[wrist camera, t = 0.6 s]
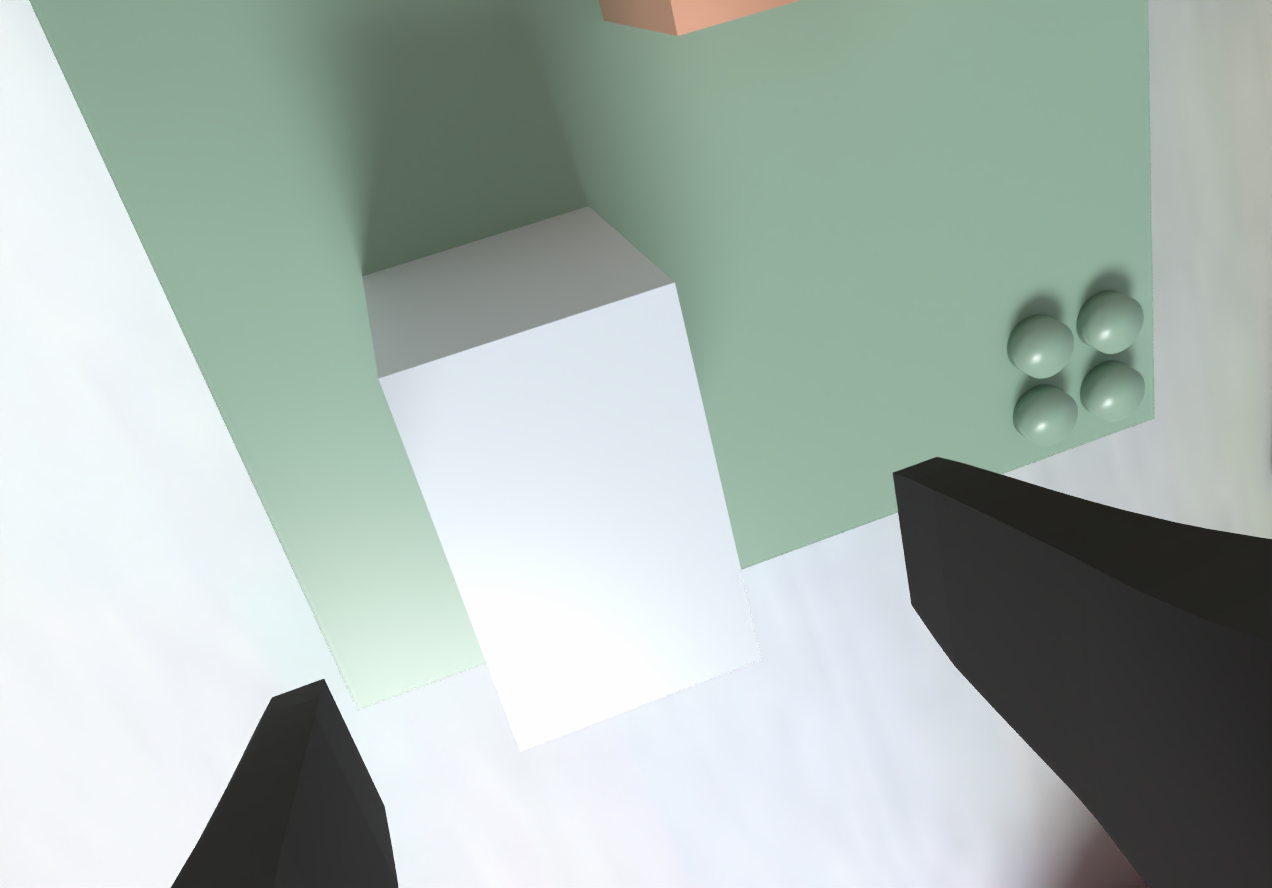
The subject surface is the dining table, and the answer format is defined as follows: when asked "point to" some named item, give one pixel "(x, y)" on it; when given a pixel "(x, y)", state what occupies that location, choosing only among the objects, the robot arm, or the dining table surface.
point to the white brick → (565, 467)
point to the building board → (638, 240)
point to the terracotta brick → (681, 13)
